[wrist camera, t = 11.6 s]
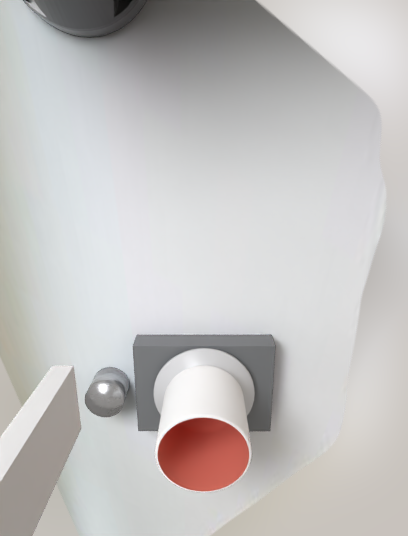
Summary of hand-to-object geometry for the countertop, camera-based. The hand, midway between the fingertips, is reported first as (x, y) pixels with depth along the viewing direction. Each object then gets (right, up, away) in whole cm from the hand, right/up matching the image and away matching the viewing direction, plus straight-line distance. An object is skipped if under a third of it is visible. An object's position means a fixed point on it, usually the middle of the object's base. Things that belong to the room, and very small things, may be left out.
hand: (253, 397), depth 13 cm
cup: (-2, -12, +34) cm, 36 cm away
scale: (-2, -10, +37) cm, 39 cm away
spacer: (-15, -11, +38) cm, 42 cm away
